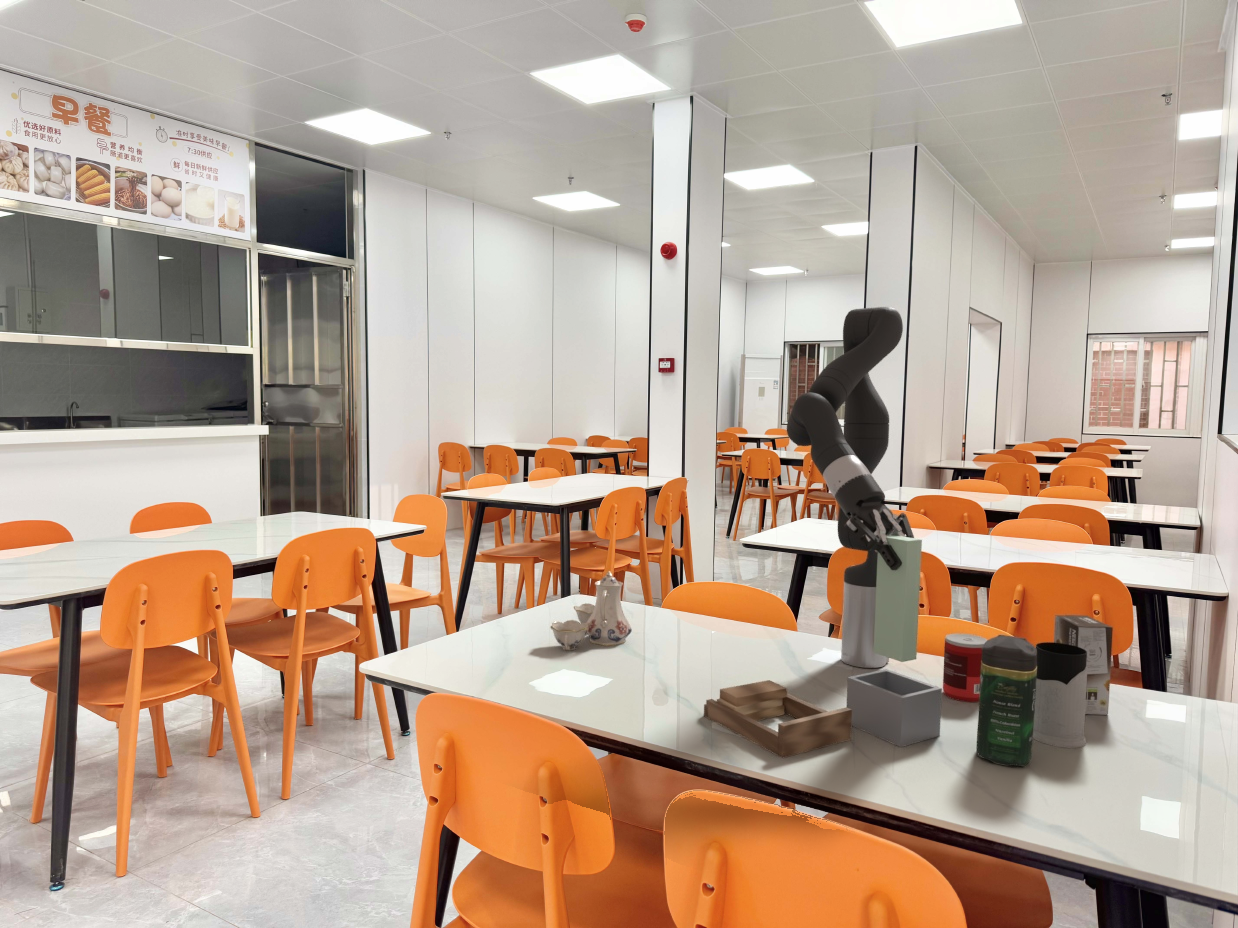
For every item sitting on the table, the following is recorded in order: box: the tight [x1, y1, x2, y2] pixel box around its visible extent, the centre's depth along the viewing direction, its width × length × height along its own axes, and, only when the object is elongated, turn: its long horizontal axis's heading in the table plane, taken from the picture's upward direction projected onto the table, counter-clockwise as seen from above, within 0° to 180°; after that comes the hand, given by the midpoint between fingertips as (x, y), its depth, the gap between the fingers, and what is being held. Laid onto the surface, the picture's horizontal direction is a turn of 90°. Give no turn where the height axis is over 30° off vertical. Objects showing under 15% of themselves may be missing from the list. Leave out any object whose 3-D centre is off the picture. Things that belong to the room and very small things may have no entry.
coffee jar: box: [976, 634, 1037, 767], centre depth 128 cm, size 10×8×19 cm
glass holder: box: [1033, 641, 1087, 749], centre depth 138 cm, size 9×14×15 cm, turn 47°
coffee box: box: [1053, 614, 1114, 716], centre depth 151 cm, size 9×6×16 cm
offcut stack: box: [716, 679, 788, 722], centre depth 144 cm, size 12×5×5 cm, turn 121°
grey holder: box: [846, 668, 943, 748], centre depth 139 cm, size 10×12×8 cm
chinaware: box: [550, 570, 632, 651], centre depth 190 cm, size 28×17×17 cm, turn 171°
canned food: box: [942, 633, 988, 703], centre depth 156 cm, size 8×8×11 cm
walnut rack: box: [703, 693, 852, 759], centre depth 139 cm, size 15×20×5 cm
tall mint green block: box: [873, 535, 923, 663], centre depth 138 cm, size 4×6×20 cm, turn 31°
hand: (905, 566), depth 136 cm, fingers closed on tall mint green block, 3 cm apart
